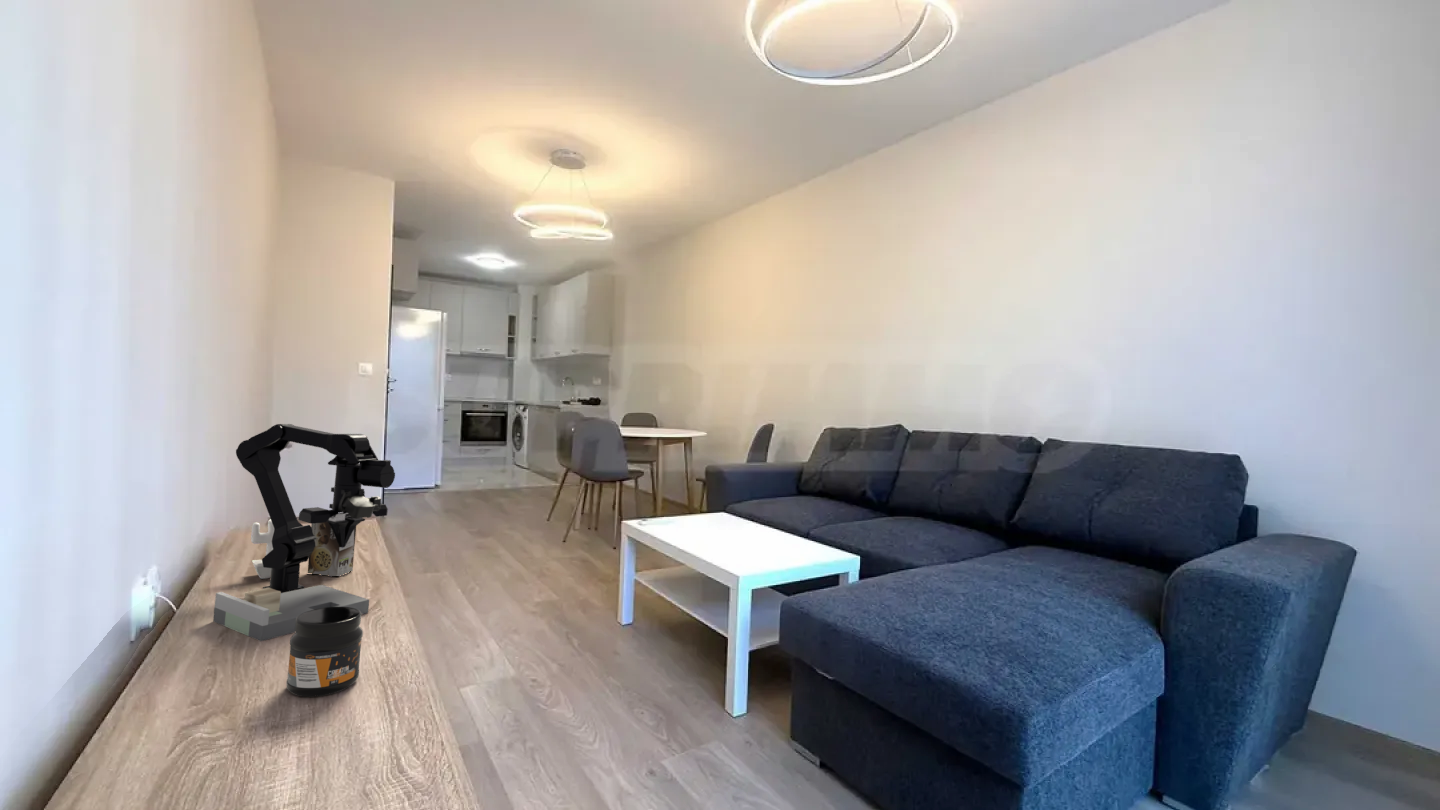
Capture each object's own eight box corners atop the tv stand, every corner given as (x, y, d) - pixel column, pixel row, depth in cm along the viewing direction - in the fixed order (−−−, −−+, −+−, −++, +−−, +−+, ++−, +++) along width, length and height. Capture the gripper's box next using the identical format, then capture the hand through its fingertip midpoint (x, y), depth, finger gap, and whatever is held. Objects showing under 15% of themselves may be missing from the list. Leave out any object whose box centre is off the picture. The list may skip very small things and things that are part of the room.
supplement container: (294, 706, 95) (301, 630, 96) (278, 682, 102) (285, 612, 103) (367, 687, 103) (373, 617, 103) (348, 666, 110) (353, 601, 110)
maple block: (243, 611, 125) (244, 592, 125) (266, 606, 129) (268, 587, 129) (255, 616, 123) (256, 596, 123) (279, 610, 127) (280, 591, 127)
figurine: (293, 576, 160) (299, 520, 160) (249, 581, 153) (255, 523, 153) (288, 570, 165) (293, 515, 165) (244, 574, 158) (250, 518, 158)
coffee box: (353, 571, 168) (358, 514, 168) (336, 577, 162) (342, 518, 162) (323, 568, 169) (328, 511, 169) (305, 574, 162) (311, 515, 163)
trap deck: (213, 621, 126) (215, 592, 126) (320, 596, 146) (323, 572, 146) (261, 641, 118) (263, 610, 118) (368, 612, 138) (370, 586, 138)
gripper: (327, 491, 136) (320, 559, 136) (403, 486, 153) (397, 547, 153) (300, 484, 142) (294, 550, 141) (377, 480, 158) (371, 539, 158)
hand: (342, 546), depth 148 cm, fingers closed
